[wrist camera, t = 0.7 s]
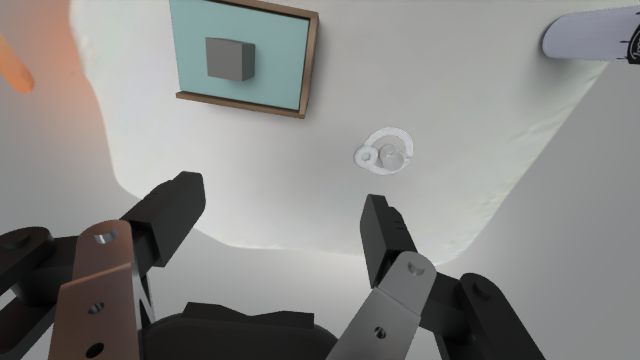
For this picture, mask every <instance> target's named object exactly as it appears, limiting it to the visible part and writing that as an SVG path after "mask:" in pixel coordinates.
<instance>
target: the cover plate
mask: <svg viewBox="0 0 640 360" xmlns="http://www.w3.org/2000/svg"><path fill="white" fill-rule="evenodd" d="M169 3H170V11H171V19H172V28H173V36H174V44H175V52H176V60H177V68H178V76H179V84H180V90H183V91H189V92H195V93H200V94H206V95H212V96H218V97H224V98H230V99H236V100H242V101H248V102H254V103H260V104H266V105H272V106H278V107H284V108H290V109H295V110H298V109H299V103H300V95H301V86H302V78H303V69H304V61H305V52H306V44H307V35H308V27H309V21H306V20H301V19H296V18H291V17H286V16H280V15H275V14H270V13H265V12H260V11H255V10H250V9H245V8H240V7H235V6H229V5H224V4H219V3H214V2H209V1H204V0H169Z"/></svg>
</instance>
